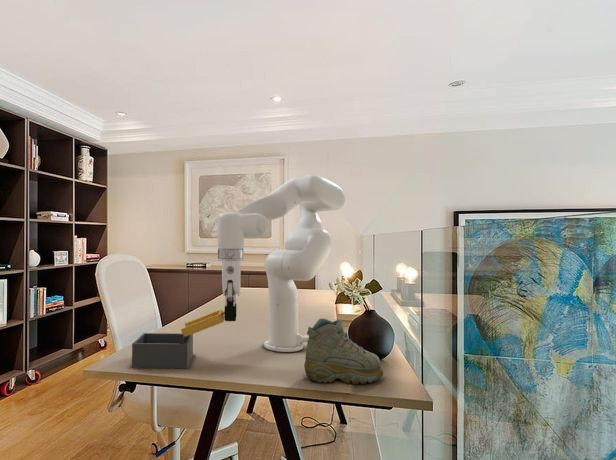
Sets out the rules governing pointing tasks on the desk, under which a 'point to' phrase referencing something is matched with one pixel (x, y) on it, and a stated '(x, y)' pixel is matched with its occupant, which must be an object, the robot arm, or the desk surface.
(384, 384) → the desk surface
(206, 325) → the tipping tray
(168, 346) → the bin
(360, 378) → the sneaker
